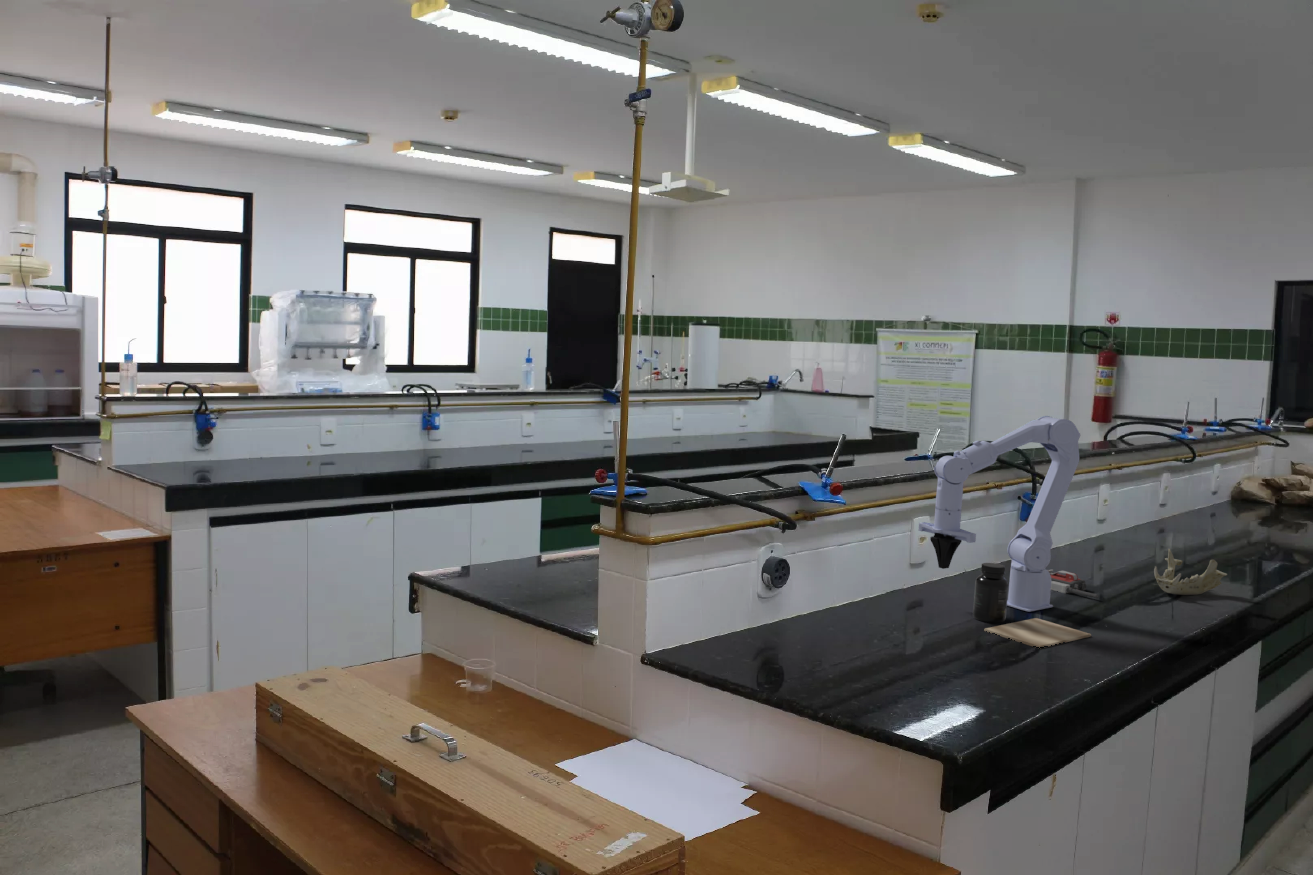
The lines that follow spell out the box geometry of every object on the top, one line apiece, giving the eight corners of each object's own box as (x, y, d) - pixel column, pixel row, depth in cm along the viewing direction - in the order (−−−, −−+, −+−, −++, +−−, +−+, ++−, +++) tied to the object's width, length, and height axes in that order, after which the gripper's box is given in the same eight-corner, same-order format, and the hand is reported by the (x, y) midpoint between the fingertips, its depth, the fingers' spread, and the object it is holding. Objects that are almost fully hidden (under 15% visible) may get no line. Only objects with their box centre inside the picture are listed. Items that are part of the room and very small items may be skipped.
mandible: (1195, 605, 237) (1199, 564, 236) (1130, 591, 248) (1134, 552, 247) (1227, 595, 249) (1231, 556, 248) (1164, 582, 261) (1167, 544, 260)
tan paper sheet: (1035, 620, 217) (1036, 617, 217) (1090, 636, 206) (1091, 633, 206) (984, 630, 206) (984, 628, 206) (1039, 648, 196) (1039, 645, 196)
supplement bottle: (1001, 615, 219) (1005, 562, 218) (1008, 624, 212) (1013, 569, 211) (969, 613, 220) (973, 560, 219) (976, 622, 213) (980, 567, 212)
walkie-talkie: (1021, 584, 252) (1095, 603, 236) (1022, 567, 252) (1097, 585, 236) (1040, 580, 257) (1114, 598, 242) (1042, 563, 257) (1116, 580, 241)
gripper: (911, 504, 228) (907, 562, 229) (963, 515, 216) (958, 576, 218) (931, 502, 232) (927, 559, 233) (983, 513, 220) (978, 573, 222)
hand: (943, 567), depth 226 cm, fingers closed
